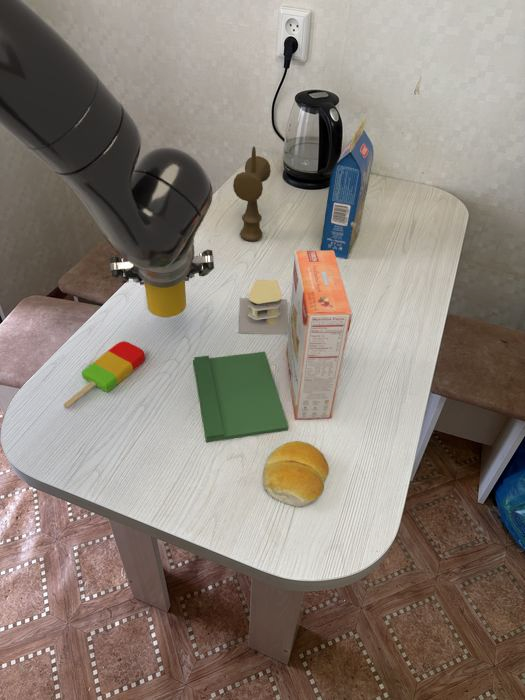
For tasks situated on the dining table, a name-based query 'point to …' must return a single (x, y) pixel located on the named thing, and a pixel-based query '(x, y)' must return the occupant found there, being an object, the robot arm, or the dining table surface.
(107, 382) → the popsicle
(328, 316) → the cracker box
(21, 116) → the robot arm
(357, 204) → the blue food package
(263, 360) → the green notebook
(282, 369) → the dining table surface
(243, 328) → the stacked layers on plate
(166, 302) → the yellow cylinder with peg
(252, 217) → the kendama
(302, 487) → the bread roll
